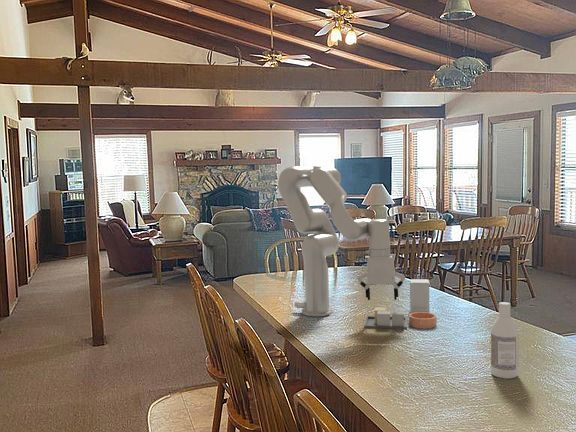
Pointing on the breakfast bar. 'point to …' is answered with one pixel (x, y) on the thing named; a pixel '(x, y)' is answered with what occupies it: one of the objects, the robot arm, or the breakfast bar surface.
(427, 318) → the bowl
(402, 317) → the grey cube
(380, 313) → the grey cube
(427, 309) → the supplement box
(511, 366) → the bath foam
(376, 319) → the beige rectangular block
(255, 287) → the breakfast bar surface
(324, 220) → the robot arm
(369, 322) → the tray
